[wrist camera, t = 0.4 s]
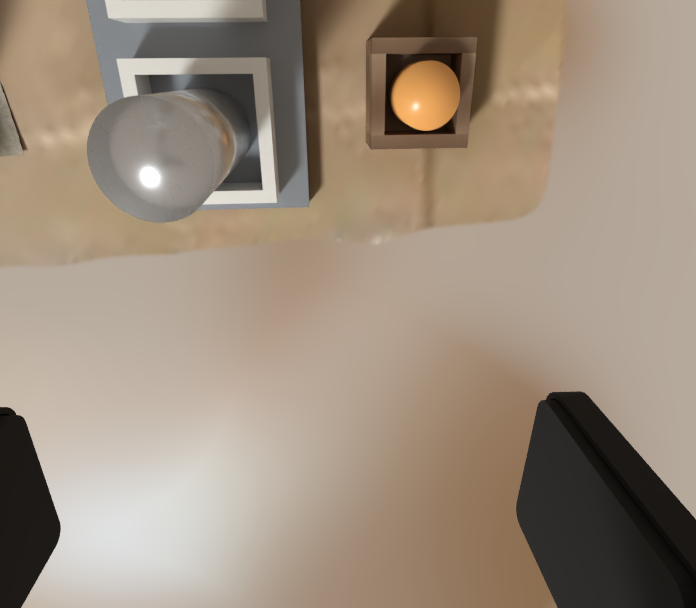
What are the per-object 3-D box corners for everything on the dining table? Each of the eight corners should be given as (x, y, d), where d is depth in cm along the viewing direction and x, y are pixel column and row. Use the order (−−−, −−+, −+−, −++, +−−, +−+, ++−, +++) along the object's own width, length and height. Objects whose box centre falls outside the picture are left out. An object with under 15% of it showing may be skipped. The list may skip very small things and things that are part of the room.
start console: (366, 41, 30) (372, 37, 27) (460, 41, 30) (477, 37, 27) (365, 142, 32) (371, 149, 29) (452, 140, 33) (467, 147, 30)
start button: (389, 62, 28) (397, 60, 26) (449, 61, 29) (463, 59, 26) (388, 126, 30) (395, 131, 27) (444, 125, 30) (457, 130, 27)
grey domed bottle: (163, 88, 29) (72, 96, 18) (246, 87, 29) (205, 94, 18) (177, 172, 31) (103, 224, 20) (254, 170, 31) (221, 221, 21)
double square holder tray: (60, -177, 25) (16, -220, 21) (292, -173, 25) (288, -214, 22) (137, 205, 33) (116, 221, 30) (309, 201, 34) (308, 216, 30)
